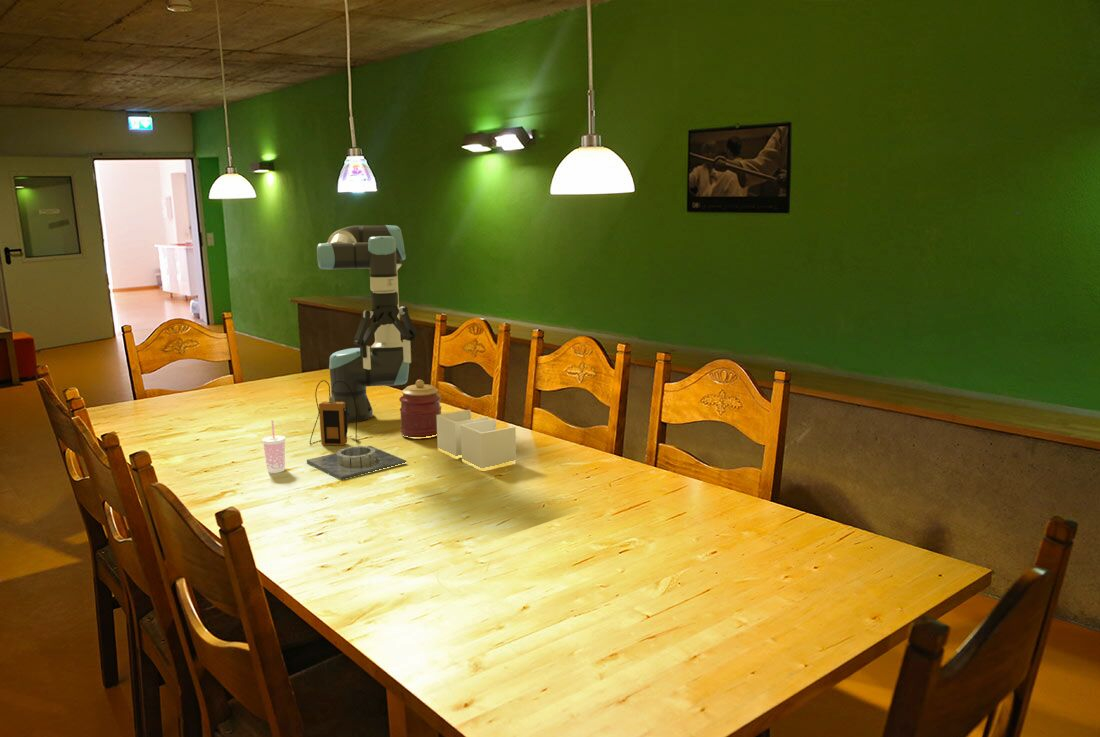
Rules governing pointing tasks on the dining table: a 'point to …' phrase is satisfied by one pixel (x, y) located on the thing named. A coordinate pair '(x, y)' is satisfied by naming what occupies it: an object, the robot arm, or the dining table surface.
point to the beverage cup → (274, 452)
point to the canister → (419, 410)
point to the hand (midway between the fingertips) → (387, 365)
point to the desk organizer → (475, 439)
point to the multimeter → (333, 421)
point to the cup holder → (355, 461)
